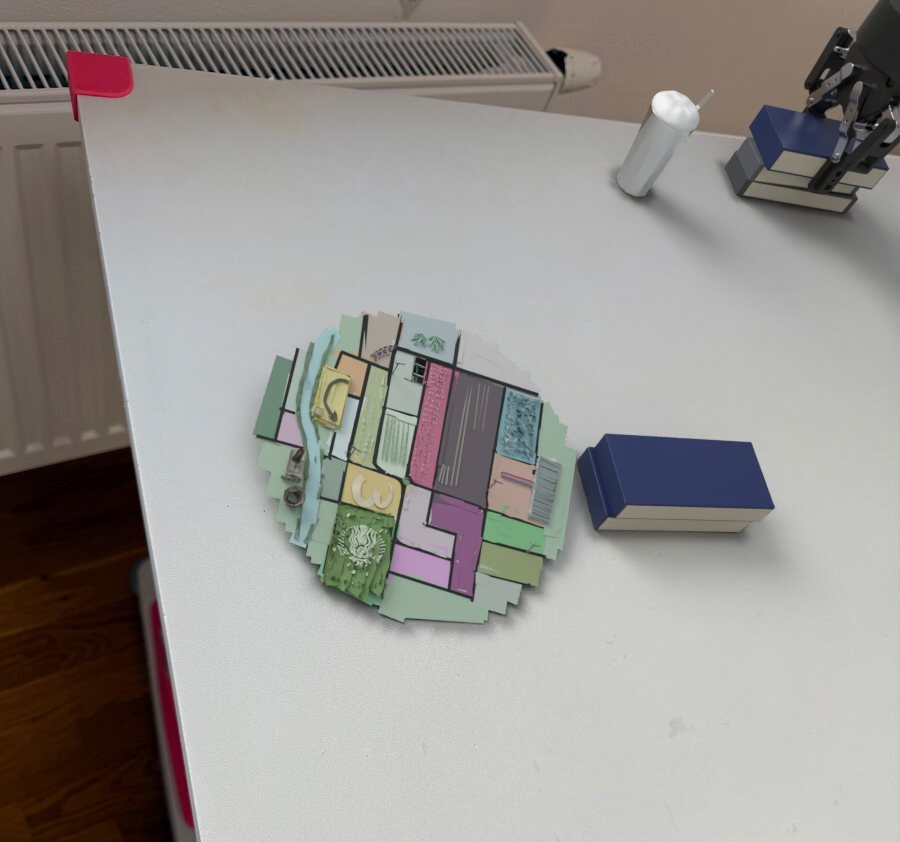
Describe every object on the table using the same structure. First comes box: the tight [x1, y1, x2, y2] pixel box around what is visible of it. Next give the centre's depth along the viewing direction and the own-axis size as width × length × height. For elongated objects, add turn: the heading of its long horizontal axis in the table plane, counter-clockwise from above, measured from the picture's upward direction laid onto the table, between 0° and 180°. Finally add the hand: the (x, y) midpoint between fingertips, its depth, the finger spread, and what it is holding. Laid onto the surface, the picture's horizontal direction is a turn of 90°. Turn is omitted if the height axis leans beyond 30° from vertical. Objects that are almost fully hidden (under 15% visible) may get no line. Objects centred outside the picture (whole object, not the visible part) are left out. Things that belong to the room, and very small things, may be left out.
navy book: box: [748, 103, 890, 190], centre depth 96 cm, size 13×6×3 cm, turn 101°
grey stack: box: [724, 136, 860, 214], centre depth 98 cm, size 14×4×4 cm, turn 101°
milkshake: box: [616, 89, 715, 198], centre depth 88 cm, size 4×5×10 cm
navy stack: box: [576, 433, 776, 533], centre depth 73 cm, size 13×6×4 cm, turn 101°
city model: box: [242, 310, 578, 624], centre depth 66 cm, size 25×23×6 cm
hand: (804, 166), depth 97 cm, fingers closed on navy book, 6 cm apart
